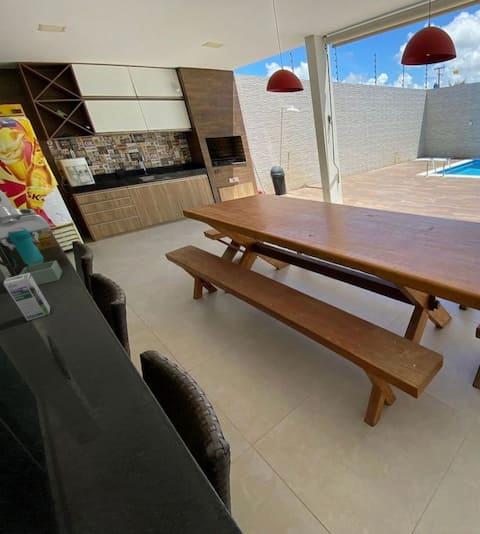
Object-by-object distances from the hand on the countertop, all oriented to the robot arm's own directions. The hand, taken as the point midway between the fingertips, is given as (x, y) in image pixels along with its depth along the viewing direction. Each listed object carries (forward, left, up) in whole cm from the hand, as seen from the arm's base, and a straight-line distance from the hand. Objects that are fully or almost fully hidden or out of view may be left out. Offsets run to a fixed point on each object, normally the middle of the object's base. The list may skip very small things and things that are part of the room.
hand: (25, 245), depth 124 cm
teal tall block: (0, +1, -9) cm, 9 cm away
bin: (0, +1, -16) cm, 16 cm away
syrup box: (+4, -36, -16) cm, 40 cm away
